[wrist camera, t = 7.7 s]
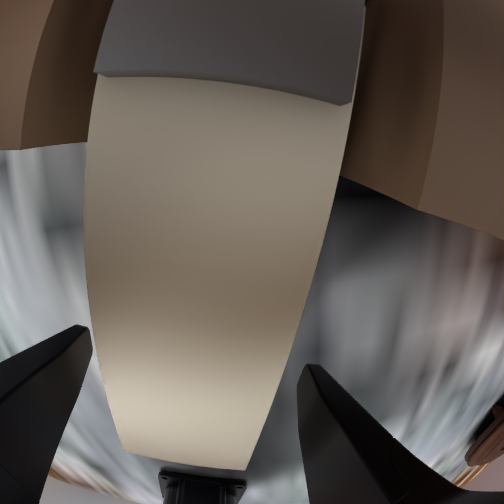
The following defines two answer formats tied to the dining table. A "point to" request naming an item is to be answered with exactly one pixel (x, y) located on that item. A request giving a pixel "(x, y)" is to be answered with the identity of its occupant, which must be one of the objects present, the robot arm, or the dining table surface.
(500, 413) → the brown wooden stand
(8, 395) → the robot arm
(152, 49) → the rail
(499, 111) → the square dumbbell
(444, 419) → the dining table surface
